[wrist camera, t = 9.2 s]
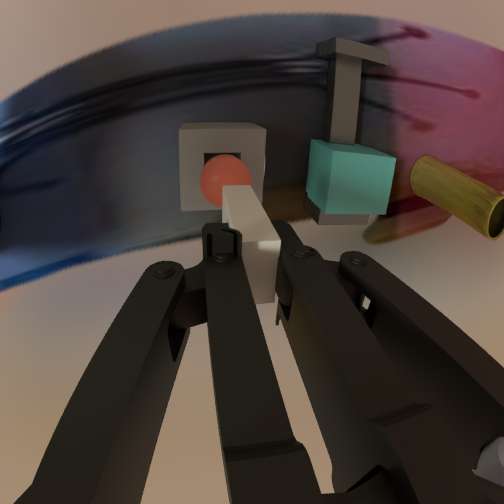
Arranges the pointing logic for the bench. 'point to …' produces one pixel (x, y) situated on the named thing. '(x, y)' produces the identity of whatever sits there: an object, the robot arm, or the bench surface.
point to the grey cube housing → (213, 144)
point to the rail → (343, 106)
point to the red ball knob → (222, 176)
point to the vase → (459, 195)
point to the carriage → (349, 178)
